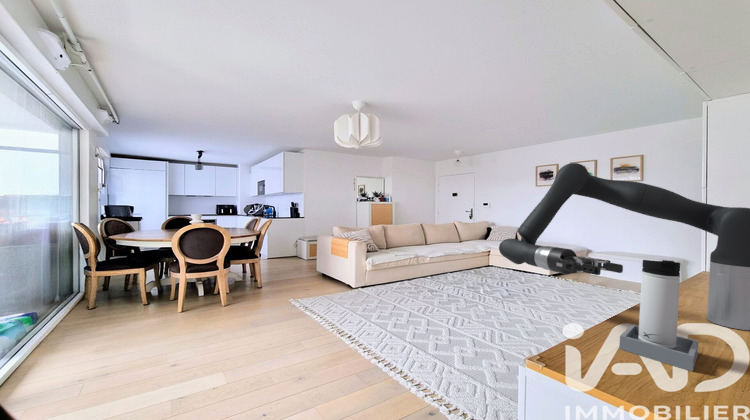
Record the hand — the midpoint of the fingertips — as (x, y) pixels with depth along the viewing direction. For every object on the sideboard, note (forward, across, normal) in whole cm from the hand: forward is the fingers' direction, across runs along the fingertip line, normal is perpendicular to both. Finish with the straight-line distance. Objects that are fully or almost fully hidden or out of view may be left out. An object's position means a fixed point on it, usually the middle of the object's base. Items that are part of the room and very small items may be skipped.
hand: (611, 270), depth 79 cm
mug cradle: (+11, -1, +16) cm, 19 cm away
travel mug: (+11, -1, +15) cm, 19 cm away
